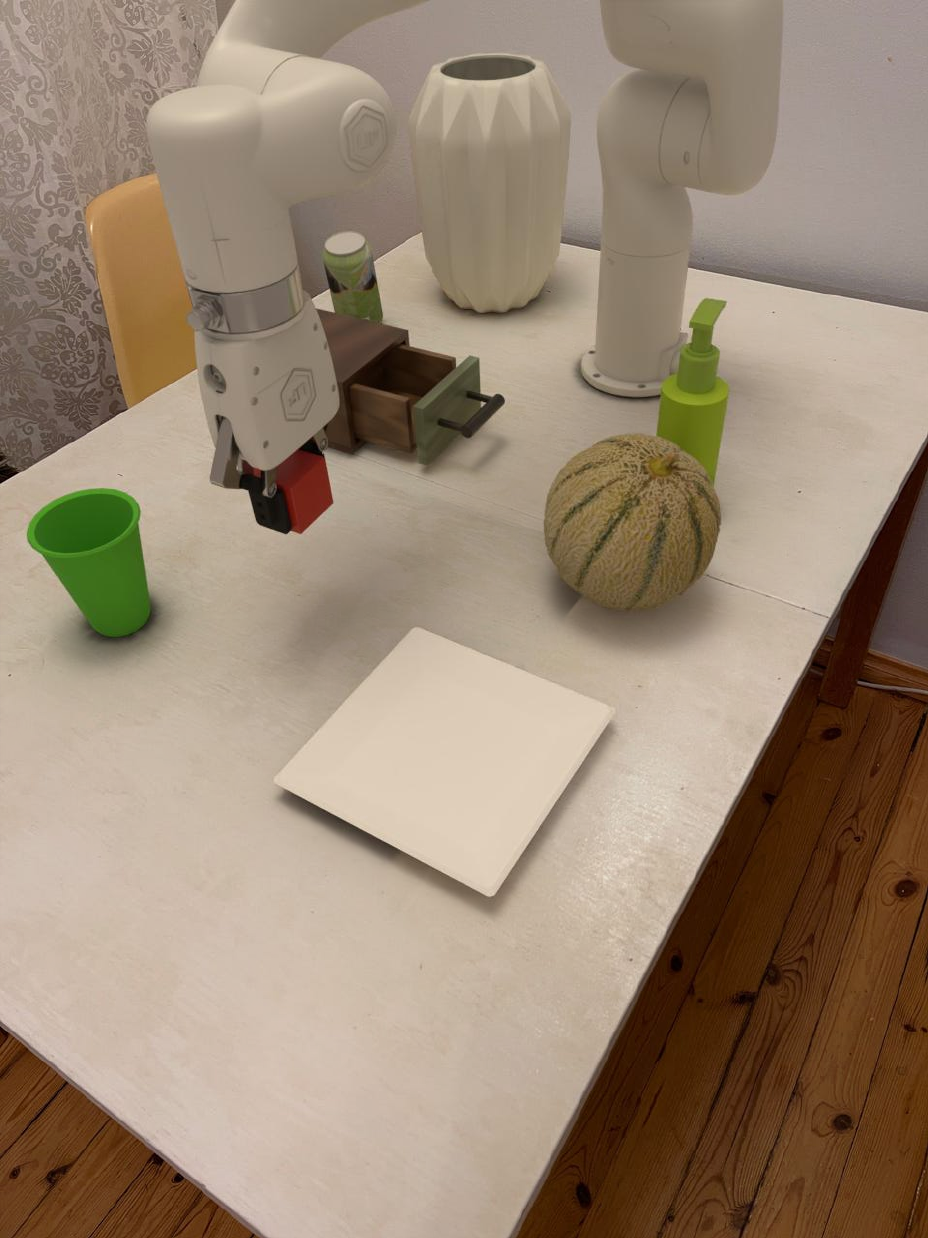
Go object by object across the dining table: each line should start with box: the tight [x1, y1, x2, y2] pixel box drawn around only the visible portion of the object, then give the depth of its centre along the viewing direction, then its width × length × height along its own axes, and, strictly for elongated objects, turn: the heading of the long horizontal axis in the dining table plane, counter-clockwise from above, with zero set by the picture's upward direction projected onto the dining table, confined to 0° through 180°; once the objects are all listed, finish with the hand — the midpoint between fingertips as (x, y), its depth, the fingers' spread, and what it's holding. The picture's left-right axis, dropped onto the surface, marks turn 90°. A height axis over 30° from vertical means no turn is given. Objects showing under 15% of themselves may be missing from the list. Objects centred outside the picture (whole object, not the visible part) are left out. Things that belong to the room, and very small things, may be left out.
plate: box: [272, 626, 617, 898], centre depth 72 cm, size 19×19×2 cm
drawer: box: [347, 344, 506, 467], centre depth 103 cm, size 17×11×7 cm
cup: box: [26, 487, 152, 638], centre depth 82 cm, size 9×9×11 cm
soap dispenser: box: [655, 297, 730, 488], centre depth 88 cm, size 6×7×20 cm
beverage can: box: [322, 230, 384, 324], centre depth 121 cm, size 6×7×12 cm
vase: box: [407, 51, 572, 314], centre depth 121 cm, size 20×20×28 cm
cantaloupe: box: [543, 432, 722, 612], centre depth 81 cm, size 15×15×15 cm
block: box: [254, 449, 334, 535], centre depth 77 cm, size 4×4×4 cm
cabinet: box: [315, 307, 411, 455], centre depth 107 cm, size 14×13×9 cm
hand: (294, 507), depth 78 cm, fingers closed on block, 4 cm apart
